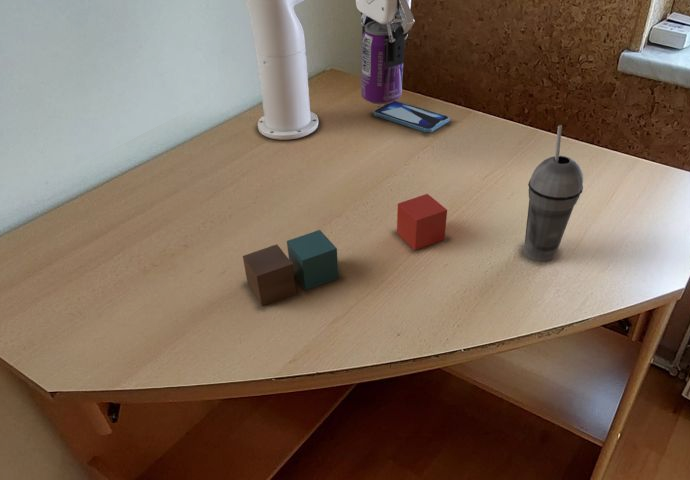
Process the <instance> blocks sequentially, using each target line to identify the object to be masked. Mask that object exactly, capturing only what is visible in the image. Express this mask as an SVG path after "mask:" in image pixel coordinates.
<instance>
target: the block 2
mask: <svg viewBox="0 0 690 480" xmlns="http://www.w3.org/2000/svg"><path fill="white" fill-rule="evenodd" d="M286 246H287V254H288V256H287V257H288V259H289V260H290V261H291V263H292V264H293V272H294V278H295V279H296V280H297V281H298V283H299V284H300V285H301V286H302V288H303V289H304V290H305V291H308V290H310V289H313V288H316V287H318V286H321V285H324V284H327V283H330V282H332V281H335V280H338V279H339V263H338V247H336V246H335V245H334V243H333V242H332V241H331V240H330V239H329V238H328V237H327V235H325V234H324V233H323V231H322V230H321V229H317V230H315V231H311V232H309V233H306V234H303V235H300V236H297V237H294V238H291V239H288V240H286Z"/></svg>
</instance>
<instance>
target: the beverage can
mask: <svg viewBox="0 0 690 480" xmlns="http://www.w3.org/2000/svg"><path fill="white" fill-rule="evenodd" d="M364 26H365V32H364V34H363V36H361V74H360V75H361V79H360V81H361V83H360V85H361V86H360V90H361V92H360V94H361V97H362V99H364V100H365V101H367V102H369V103H371V104H374V105H385V104H389V103H391V102H393V101H398V100H399V99H400V98H401V97H402V94H403V76H404V75H403V74H404V63H403V64H400V65H396V66H392V67H387V66H386V41H389V37H388V31H387V26H386V24H385V25H382V24H380V23H378V22H376V21H371V22H369V23H367V24H366V25H364ZM393 27H394V32H395V30H396V29H397V28H398V27H399V24H398V23H397V24H393Z"/></svg>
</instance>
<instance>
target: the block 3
mask: <svg viewBox="0 0 690 480" xmlns="http://www.w3.org/2000/svg"><path fill="white" fill-rule="evenodd" d="M396 214H397V215H396V234H397V235H398V236H399V237H400V238H402V239H403V240H404V241H405V242H406V243H407V244H408V245H409V246H410V247H411V248H412V249H413V250H414V251H418V250H420V249H423V248H425V247H429V246H431V245H434V244H436V243H438V242H442V241H444V240H445V239H446V238H445V236H446V228H447V227H446V226H447V218H448V209H447V208H446V207H444V206H443V205H442V204H441V203H440V202H439V201H437V200H436V199H435V198H433V196H431V195H430V194H429V193H424V194H422V195H418V196H416V197H413V198H410V199H407V200H404V201H402V202H399V203H397V213H396Z"/></svg>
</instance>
